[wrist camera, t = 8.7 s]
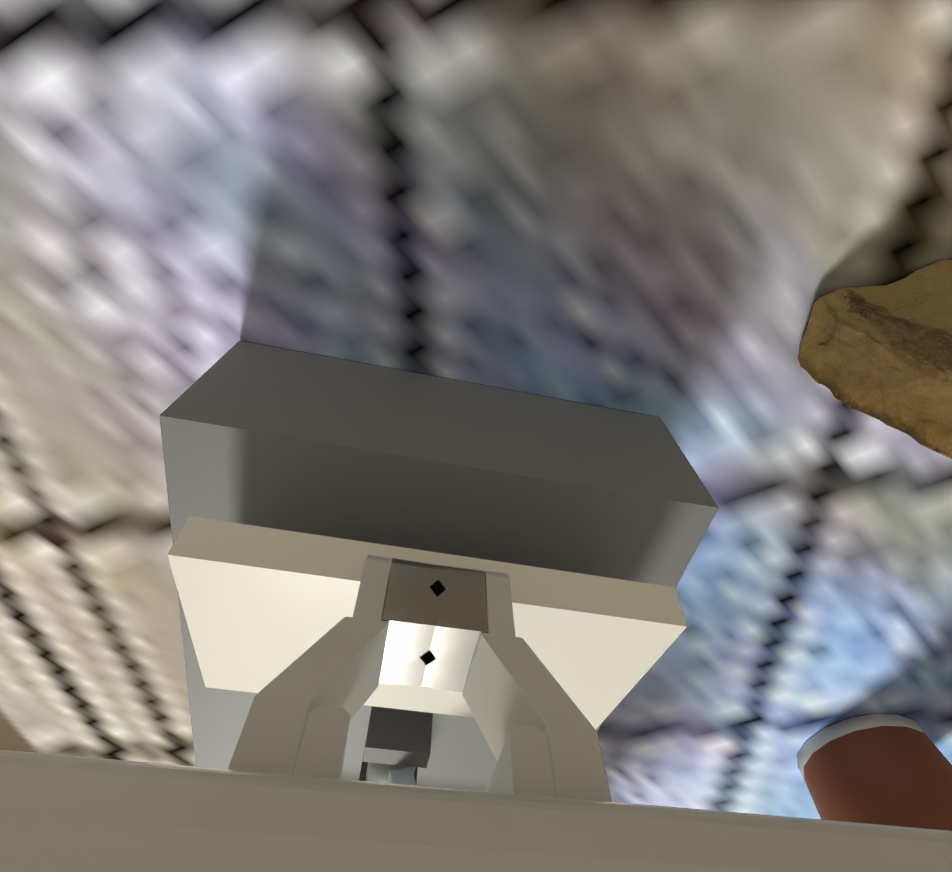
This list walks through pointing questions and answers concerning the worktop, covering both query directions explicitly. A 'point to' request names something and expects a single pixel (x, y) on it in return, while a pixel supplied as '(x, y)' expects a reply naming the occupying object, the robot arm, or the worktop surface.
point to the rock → (889, 352)
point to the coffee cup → (878, 773)
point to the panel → (420, 503)
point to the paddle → (390, 773)
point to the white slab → (339, 574)
